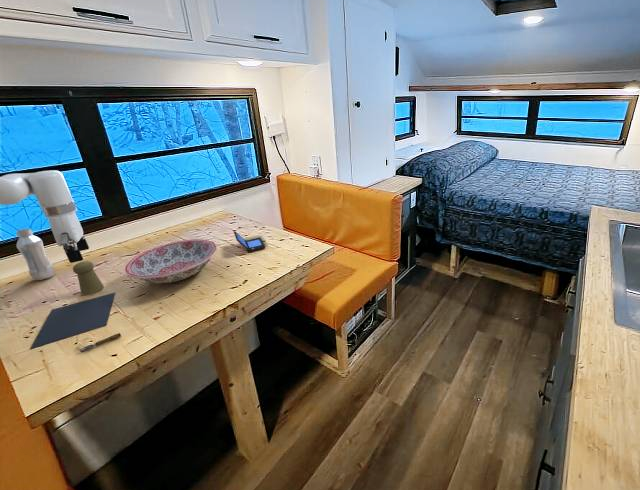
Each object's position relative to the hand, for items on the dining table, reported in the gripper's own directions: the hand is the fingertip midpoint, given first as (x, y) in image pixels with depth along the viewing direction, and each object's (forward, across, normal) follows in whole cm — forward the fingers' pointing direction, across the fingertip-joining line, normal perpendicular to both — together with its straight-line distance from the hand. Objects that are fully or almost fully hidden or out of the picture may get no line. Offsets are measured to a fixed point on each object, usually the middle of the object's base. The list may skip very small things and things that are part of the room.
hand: (80, 255), depth 104 cm
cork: (+14, 0, -1) cm, 14 cm away
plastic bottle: (+14, -22, -18) cm, 31 cm away
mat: (+14, +17, -2) cm, 22 cm away
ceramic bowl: (+14, +6, +25) cm, 30 cm away
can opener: (+14, +36, +6) cm, 39 cm away
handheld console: (+15, -2, +53) cm, 55 cm away
